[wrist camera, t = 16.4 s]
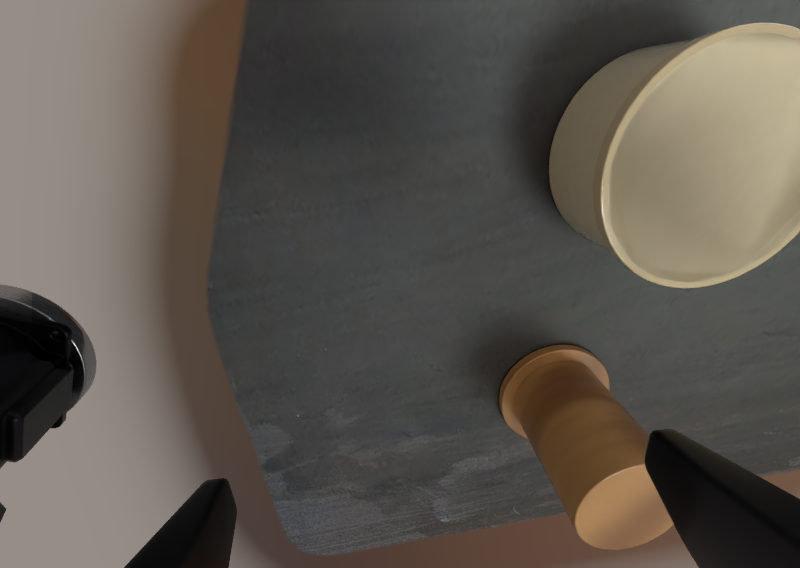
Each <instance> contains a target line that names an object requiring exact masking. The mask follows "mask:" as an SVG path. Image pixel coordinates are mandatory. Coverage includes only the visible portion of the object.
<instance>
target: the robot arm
mask: <svg viewBox="0 0 800 568" xmlns="http://www.w3.org/2000/svg"><path fill="white" fill-rule="evenodd" d="M56 332H59V333H61V334H62V336H59V335H58V334H57V333H56ZM71 348H72V330H71V329H70V328H69V327H68V326H67V325H65V324H62V323H57V322H52V321H48V320H43V319H38V318H34V317H29V316H24V315H20V314H15V313H10V312H6V311H1V310H0V468H1V467H2V466H3V465H4V464H5V463H6V462H7V461H9V462H17V461H19V460H21V459H22V458H23V457H24V456H25V455H26V454H27V453H28V452H29V451H30V450H31V449H32V448H33V446H34V445H35V444H36V443H37V442H38V441H39V440H40V439H41V437H42V436H43V435H44V434H45V433H46V432H47V431H48V430H49V429H50V428H58V427H60V426H61V425H62V424H63V423H64V421H65V420H66V413H67V409H68V408H69V406H70V405H71V399H72V387H73V374H74V368H73V366H72V364H70V361H71ZM645 467H646V470H647V472H648V474H649V476H650V478H651V480H652V482H653V484H654V486H655V488H656V490H657V492H658V494H659V496H660V498H661V500H662V502H663V504H664V506H665V508H666V510H667V512H668V514H669V516H670V518H671V520H672V522H673V524H674V526H675V527H676V529H677V531H678V533H679V535H680V537H681V539H682V541H683V542H684V544H685V546H686V547H687V549H688V551H689V552H690V554H691V556H692V557H693V559H694V560H695V562H696V564H697V565H698V567H699V568H800V499H798V498H797V497H795V496H793V495H791V494H789V493H787V492H786V491H784V490H782V489H780V488H779V487H777V486H775V485H773V484H771V483H769V482H768V481H766V480H764V479H762V478H760V477H759V476H757V475H755V474H753V473H751V472H749V471H748V470H746V469H744V468H742V467H740V466H739V465H737V464H735V463H733V462H731V461H730V460H728V459H726V458H724V457H722V456H720V455H719V454H717V453H715V452H713V451H711V450H710V449H708V448H706V447H704V446H702V445H701V444H699V443H697V442H695V441H693V440H691V439H690V438H688V437H686V436H684V435H682V434H681V433H679V432H677V431H675V430H672V429H664V430H655V431H653V432H652V433H651V434H650V436H649V441H648V445H647V449H646V454H645ZM5 511H6V508H5V507H4V506H3V505H2V504H1V503H0V522H1V520H2V517H3V515H4V513H5ZM236 515H237V510H236V504H235V501H234V497H233V494H232V491H231V488H230V484H229V482H228V481H227V479H224V478H222V479H214V480H207V481H205V482H204V483H203V484H202V485H201V486H200V487H199V488H198V489H197V490H196V491H195V492H194V494H192V496H191V497H190V498H189V499H188V500H187V501H186V502H185V503H184V504H183V505H182V506H181V507H180V508H179V509H178V511H177V512H176V513H175V514H174V515H173V516H172V517H171V518H170V519H169V520H168V521H167V522H166V523H165V524H164V525H163V527H162V528H161V529H160V530H159V531H158V532H157V533H156V534H155V535H154V536H153V537H152V538H151V539H150V540H149V542H148V543H147V544H146V545H145V546H144V547H143V548H142V549H141V550H140V551H139V552H138V553H137V554H136V555H135V557H134V558H133V559H132V560H131V561H130V562H129V563H128V564H127V565H126V566H125V567H124V568H228V567H229V561H230V554H231V548H232V542H233V535H234V529H235V523H236Z"/></svg>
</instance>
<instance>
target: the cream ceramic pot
mask: <svg viewBox="0 0 800 568" xmlns="http://www.w3.org/2000/svg"><path fill="white" fill-rule="evenodd" d="M549 179H550V187H551V191H552V195H553V199H554V201H555V204H556V206H557V208H558V210H559V212H560V213H561V215H562V217H563V218H564V219H565V221H566V222H567V223H568V224H569V225H570V226H571V227H572V228H573V229H574V230H575V231H576V232H578V233H579V234H581V235H582V236H584V237H585V238H587V239H589V240H590V241H592V242H594V243H595V244H597V245H599V246H600V247H602V248H604V249H605V250H607V251H609V252H610V253H612V254H613V256H614V257H615V258H616V259H617V260H618V261H619V262H620V263H621V264H622V265H624V266H625V267H626V268H627V269H629V270H630V271H632V272H634V273H635V274H637V275H639V276H640V277H642V278H643V279H645V280H648V281H650V282H653V283H655V284H659V285H663V286H667V287H675V288H698V287H704V286H710V285H714V284H717V283H721V282H724V281H727V280H730V279H732V278H735V277H737V276H740V275H742V274H744V273H746V272H748V271H750V270H752V269H753V268H755V267H757V266H758V265H760V264H762V263H763V262H765V261H766V260H768V259H769V258H770V257H772V256H773V255H774V254H776V253H777V252H778V251H779V250H781V249H782V248H783V247H784V246H785V245H786V244H787V243H789V242H790V241H791V240H792V239H793V238H794V237H795V236H796V235H797V234H798V233H799V232H800V29H798V28H795V27H793V26H789V25H784V24H779V23H760V22H758V23H751V24H743V25H737V26H731V27H727V28H723V29H720V30H716V31H713V32H710V33H708V34H705V35H703V36H701V37H698V38H696V39H693V40H687V41H681V42H675V43H669V44H663V45H656V46H650V47H645V48H641V49H638V50H635V51H632V52H629V53H627V54H625V55H623V56H620V57H618V58H617V59H615V60H613V61H612V62H610V63H608V64H607V65H606V66H604V67H603V68H602V69H600V70H599V71H598V72H596V73H595V74H594V75H593V76H592V77H591V78H590V79H589V80H588V81H587V82H586V83H585V84H584V85H583V86H582V87H581V89H580V90H579V91H578V92H577V94H576V95H575V96H574V97H573V99H572V100H571V102H570V104H569V105H568V107H567V108H566V110H565V112H564V114H563V116H562V118H561V120H560V122H559V124H558V127H557V130H556V132H555V135H554V138H553V142H552V146H551V152H550V159H549Z"/></svg>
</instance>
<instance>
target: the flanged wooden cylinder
mask: <svg viewBox="0 0 800 568" xmlns="http://www.w3.org/2000/svg"><path fill="white" fill-rule="evenodd" d="M499 407H500V410H501V413H502V415H503V417H504V419H505V421H506V423H507V424H508V426H509V427H510V428H511V429H512V430H513V431H515V432H516V433H517V434H519V435H521V436H523V437H525V438H528V439H529V441H530V443H531V445H532V447H533V449H534V451H535V453H536V455H537V457H538V459H539V461H540V462H541V464H542V466H543V468H544V470H545V472H546V474H547V476H548V478H549V480H550V482H551V484H552V485H553V487H554V489H555V491H556V493H557V495H558V497H559V499H560V501H561V503H562V505H563V507H564V508H565V510H566V512H567V514H568V516H569V518H570V520H571V522H572V524H573V525H574V528H575V530H576V532H577V533H578V535H579V536H580V538H582V539H583V540H584V541H585V542H586V543H588V544H590V545H592V546H594V547H597V548H601V549H608V550H616V549H626V548H631V547H635V546H638V545H641V544H643V543H646V542H648V541H650V540H652V539H654V538H656V537H657V536H659V535H661V534H662V533H664V532H665V531H667V530H668V529H669V528H670V527H671V526H672V525H673V522H672V520H671V518H670V516H669V514H668V512H667V510H666V508H665V506H664V504H663V502H662V500H661V498H660V496H659V494H658V492H657V490H656V488H655V486H654V484H653V482H652V480H651V478H650V476H649V474H648V472H647V470H646V467H645V454H646V449H647V445H648V441H649V435H648V434H647V433H646V432H645V431H644V430H643V429H642V427H641V426H640V425H639V424H638V423H637V422H636V421H635V420H634V418H633V417H632V416H631V415H630V414H629V413H628V412H627V410H626V409H625V408H624V407H623V406H622V405H621V404H620V403H619V401H618V400H617V399H616V398H615V397H614V396H613V395H612V393H611V392H610V391H609V377H608V374H607V371H606V369H605V367H604V365H603V364H602V363H601V362H600V361H599V360H598V358H597V357H596V356H594V355H593V354H592V353H591V352H589V351H588V350H586V349H583V348H581V347H577V346H573V345H553V346H548V347H544V348H541V349H539V350H536V351H534V352H532V353H530V354H529V355H527V356H525V357H524V358H523V359H521V360H520V361H519V362H518V363H516V364H515V365H514V366H513V368H512V369H511V370H510V371H509V372H508V374H507V375H506V377H505V379H504V381H503V383H502V385H501V388H500V393H499Z"/></svg>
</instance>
